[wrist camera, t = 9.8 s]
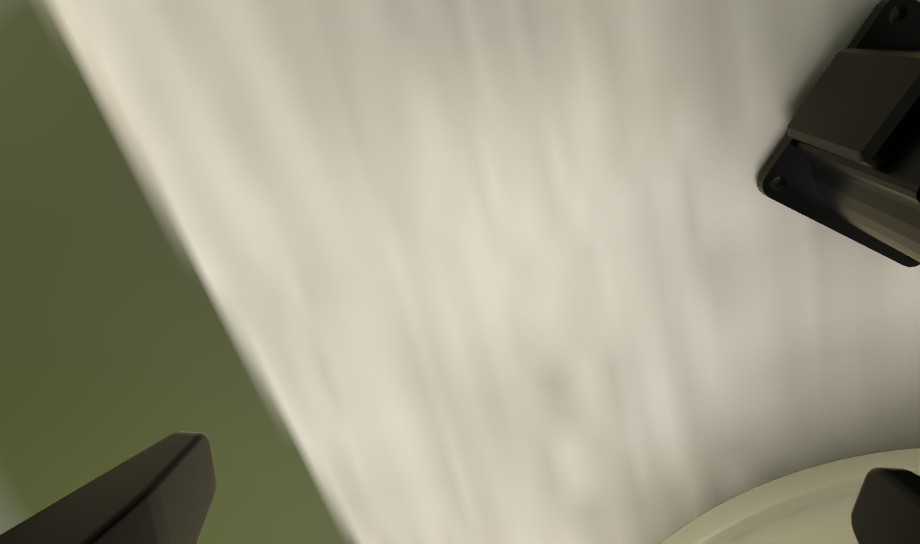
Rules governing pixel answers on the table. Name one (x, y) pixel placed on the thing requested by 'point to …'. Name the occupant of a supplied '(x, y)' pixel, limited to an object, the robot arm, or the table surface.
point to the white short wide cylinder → (795, 505)
